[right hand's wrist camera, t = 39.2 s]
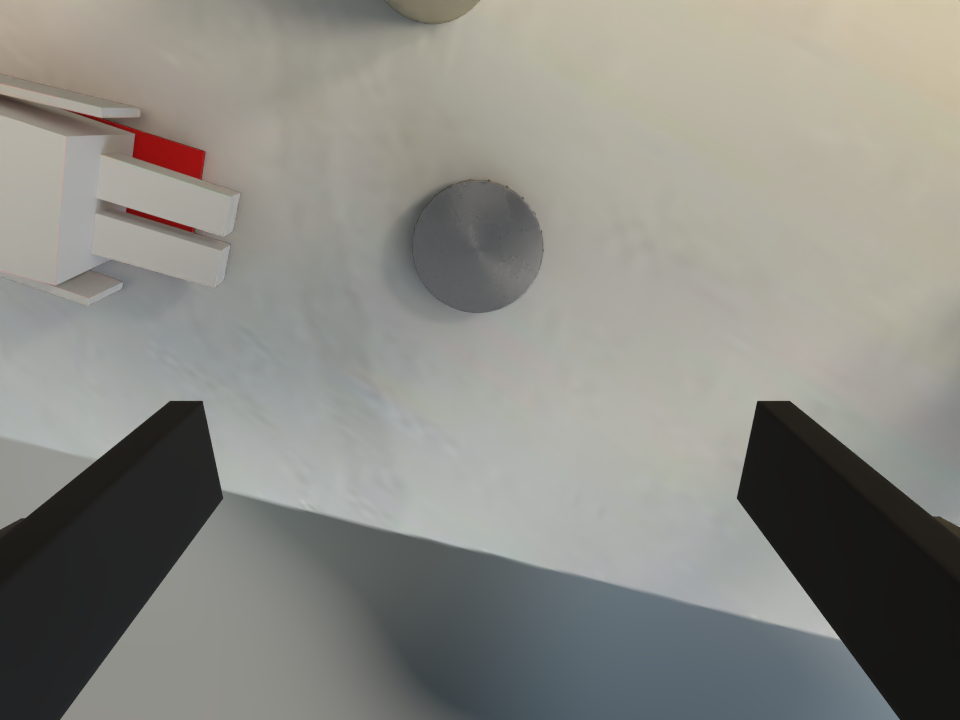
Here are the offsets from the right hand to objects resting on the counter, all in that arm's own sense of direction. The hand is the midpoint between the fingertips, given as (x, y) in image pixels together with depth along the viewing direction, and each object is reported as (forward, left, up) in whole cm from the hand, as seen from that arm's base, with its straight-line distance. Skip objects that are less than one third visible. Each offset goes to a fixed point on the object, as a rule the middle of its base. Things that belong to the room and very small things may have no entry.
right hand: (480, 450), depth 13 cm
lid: (0, 0, -28) cm, 28 cm away
